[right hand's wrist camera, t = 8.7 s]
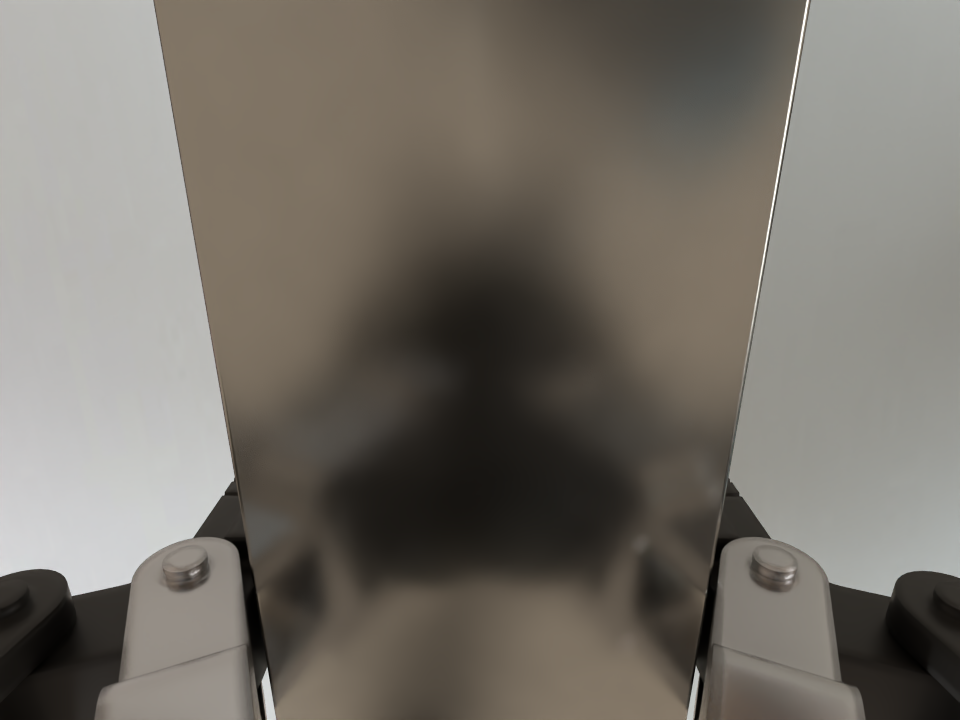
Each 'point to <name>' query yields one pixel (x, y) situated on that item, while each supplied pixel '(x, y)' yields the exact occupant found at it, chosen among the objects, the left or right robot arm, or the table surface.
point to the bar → (481, 332)
